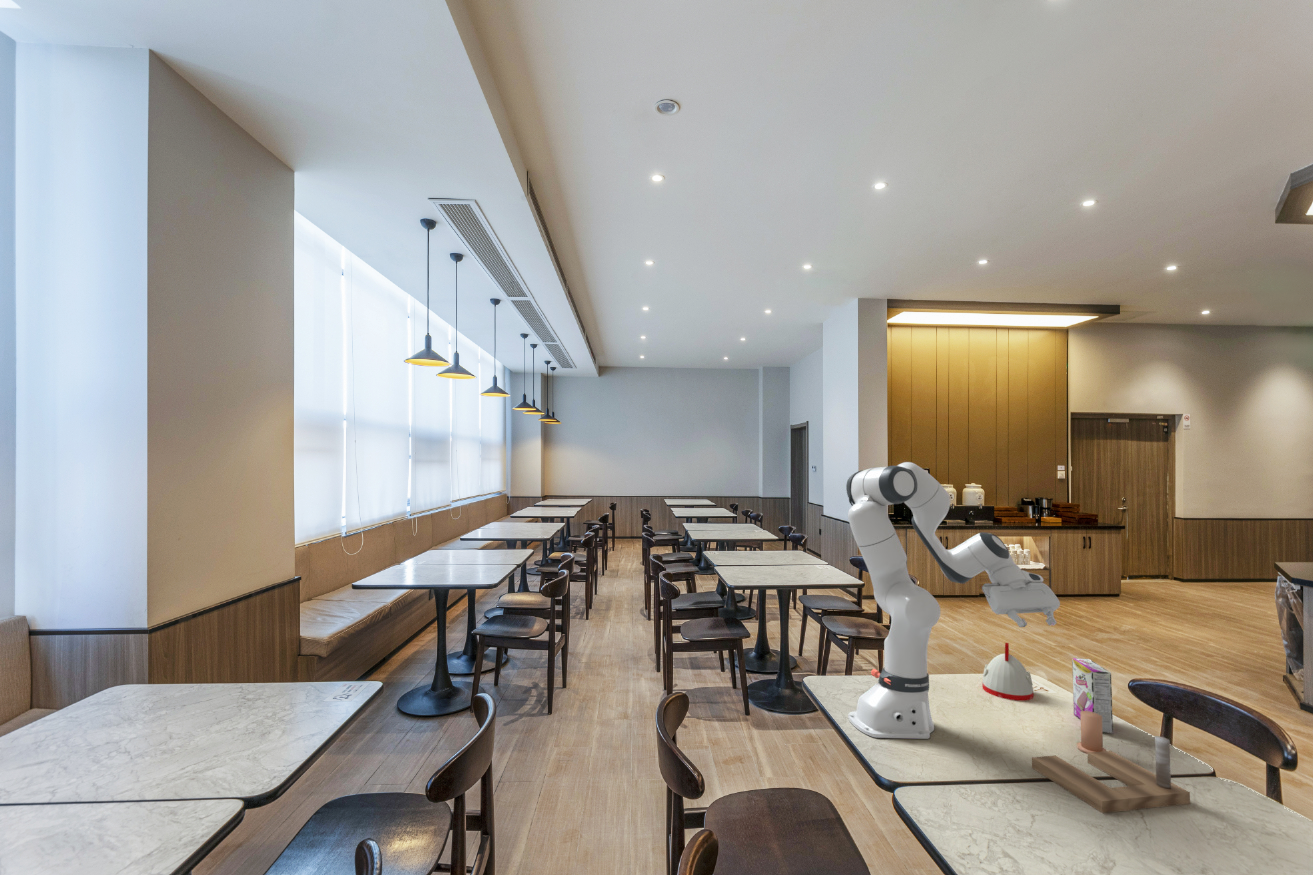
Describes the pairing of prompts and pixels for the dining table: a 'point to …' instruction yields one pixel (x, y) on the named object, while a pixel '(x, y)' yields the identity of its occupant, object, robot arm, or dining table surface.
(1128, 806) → the wooden frame with post
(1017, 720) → the dining table surface
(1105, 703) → the candy bar box
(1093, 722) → the tan cylinder
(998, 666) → the kitchen timer
